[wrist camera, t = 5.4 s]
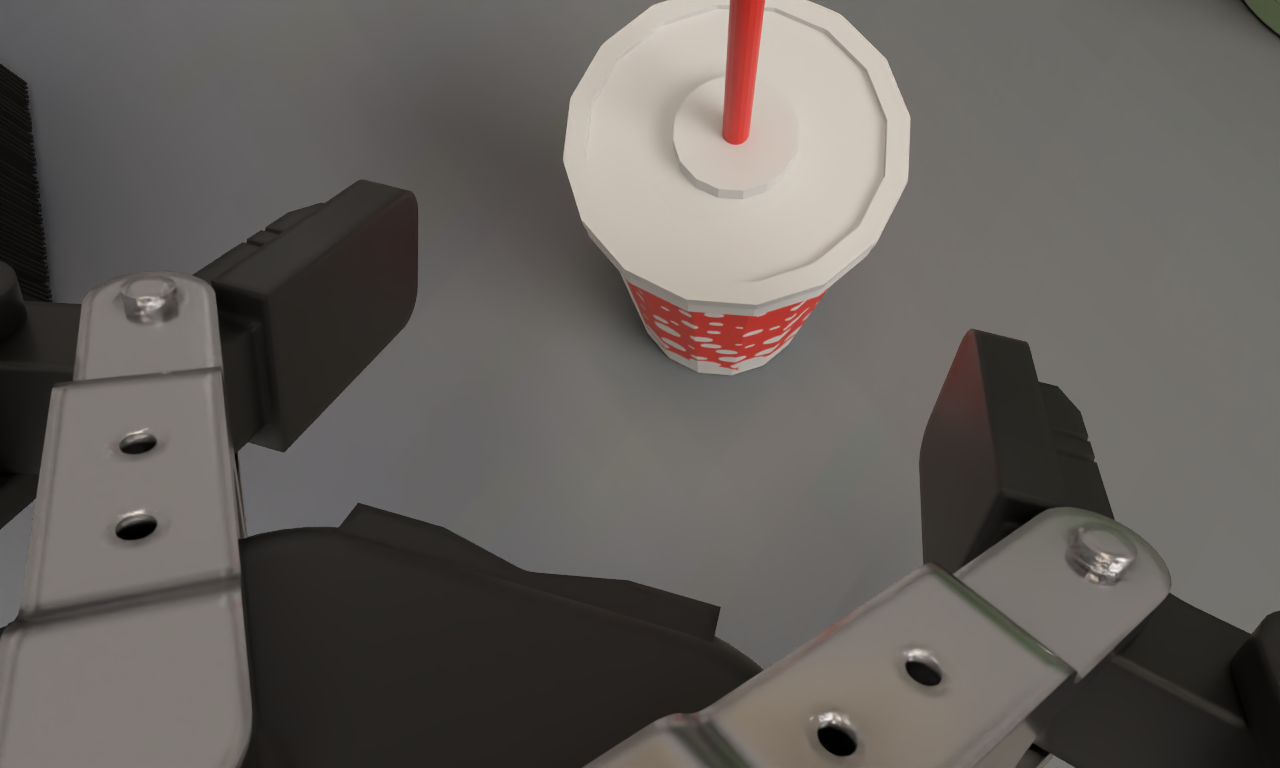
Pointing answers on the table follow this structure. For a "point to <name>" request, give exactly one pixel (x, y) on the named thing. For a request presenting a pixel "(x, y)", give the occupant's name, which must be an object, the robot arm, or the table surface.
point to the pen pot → (1267, 12)
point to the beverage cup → (735, 168)
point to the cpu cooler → (20, 192)
